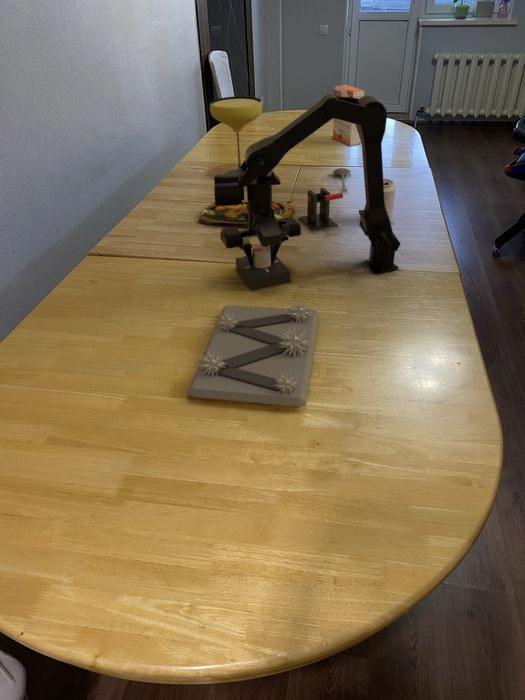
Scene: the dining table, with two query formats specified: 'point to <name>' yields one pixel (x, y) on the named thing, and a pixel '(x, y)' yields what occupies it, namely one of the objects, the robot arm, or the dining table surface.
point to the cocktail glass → (236, 115)
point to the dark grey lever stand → (314, 219)
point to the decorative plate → (258, 356)
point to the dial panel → (263, 273)
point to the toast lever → (328, 197)
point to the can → (389, 196)
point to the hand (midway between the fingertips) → (262, 264)
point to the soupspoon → (342, 172)
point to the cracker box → (341, 128)
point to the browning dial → (261, 257)
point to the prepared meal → (241, 212)
